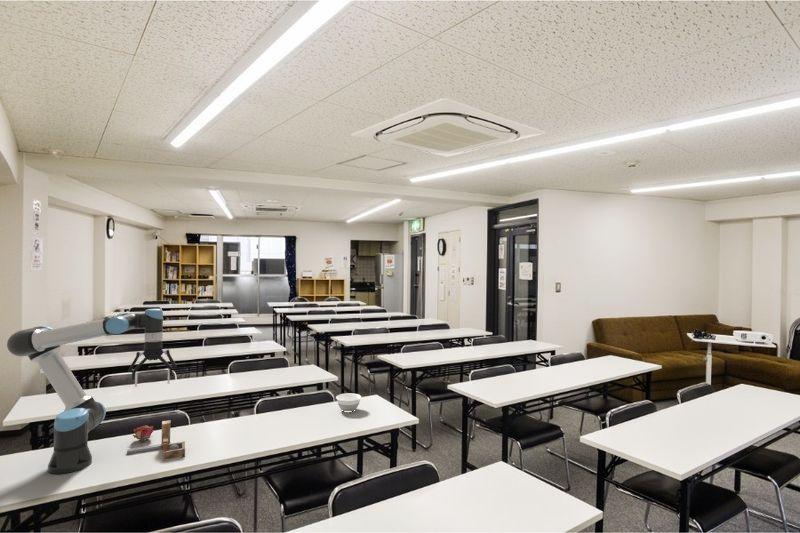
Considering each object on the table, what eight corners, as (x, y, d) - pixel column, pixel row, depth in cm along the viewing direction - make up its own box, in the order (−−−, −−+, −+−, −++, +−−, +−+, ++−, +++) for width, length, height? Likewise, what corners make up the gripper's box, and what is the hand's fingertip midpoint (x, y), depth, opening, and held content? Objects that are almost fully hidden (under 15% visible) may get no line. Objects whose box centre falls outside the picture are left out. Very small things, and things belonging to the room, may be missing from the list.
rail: (126, 454, 193) (126, 451, 193) (127, 452, 195) (127, 449, 195) (170, 447, 202) (170, 444, 202) (170, 445, 204) (171, 442, 204)
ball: (178, 455, 193) (167, 457, 191) (178, 451, 197) (168, 453, 195) (179, 445, 193) (168, 447, 191) (179, 442, 197) (168, 443, 195)
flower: (156, 438, 208) (157, 422, 212) (136, 440, 201) (136, 423, 205) (148, 445, 212) (149, 430, 216) (128, 447, 206) (129, 431, 210)
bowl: (332, 413, 253) (332, 399, 253) (340, 405, 269) (340, 392, 269) (357, 415, 251) (357, 401, 251) (364, 407, 266) (364, 394, 266)
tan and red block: (160, 456, 190) (161, 431, 191) (161, 445, 203) (162, 421, 203) (169, 455, 192) (170, 429, 192) (170, 443, 205) (170, 420, 205)
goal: (163, 460, 188) (163, 452, 188) (163, 452, 197) (163, 444, 197) (184, 456, 192) (185, 448, 192) (184, 448, 201) (184, 441, 201)
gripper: (121, 343, 192) (120, 389, 192) (182, 340, 204) (181, 383, 204) (123, 341, 199) (122, 385, 199) (182, 338, 211) (181, 379, 210)
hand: (152, 384), depth 201 cm, fingers open, 13 cm apart
